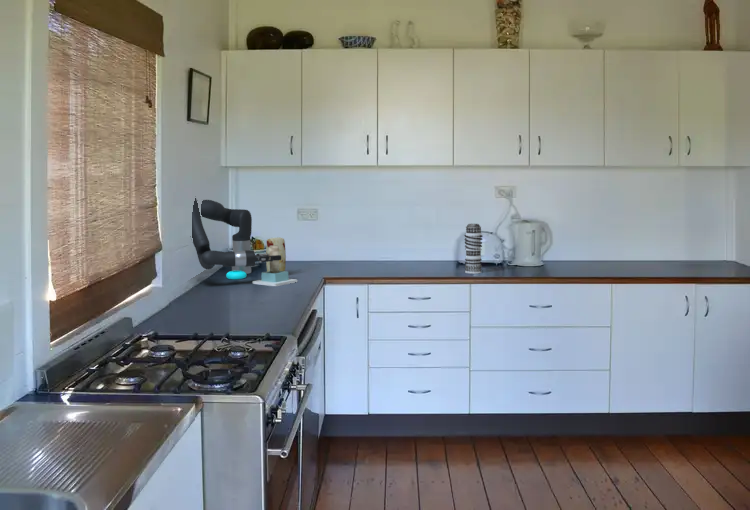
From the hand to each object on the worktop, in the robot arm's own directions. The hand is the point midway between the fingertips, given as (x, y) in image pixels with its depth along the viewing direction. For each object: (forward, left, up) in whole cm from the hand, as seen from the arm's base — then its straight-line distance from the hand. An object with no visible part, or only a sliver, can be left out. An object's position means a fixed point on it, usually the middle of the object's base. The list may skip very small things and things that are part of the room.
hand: (279, 257), depth 351 cm
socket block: (-2, -2, -12) cm, 13 cm away
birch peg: (-2, -2, -9) cm, 9 cm away
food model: (-15, +13, -13) cm, 23 cm away
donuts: (-29, -1, -13) cm, 31 cm away
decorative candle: (+62, +78, -13) cm, 101 cm away
